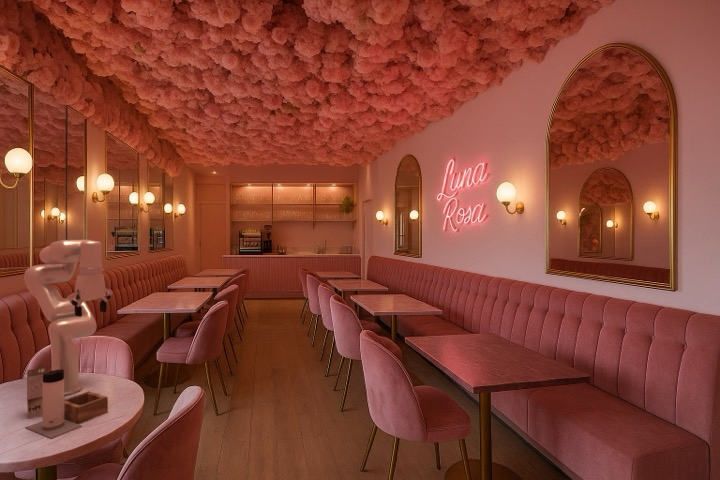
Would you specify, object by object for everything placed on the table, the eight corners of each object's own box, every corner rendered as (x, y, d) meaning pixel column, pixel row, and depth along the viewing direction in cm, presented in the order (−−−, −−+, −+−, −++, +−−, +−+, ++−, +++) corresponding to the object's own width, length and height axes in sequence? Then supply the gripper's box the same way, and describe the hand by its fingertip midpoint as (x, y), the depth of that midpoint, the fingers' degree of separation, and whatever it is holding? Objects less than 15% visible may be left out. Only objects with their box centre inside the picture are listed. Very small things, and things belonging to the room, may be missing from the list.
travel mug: (53, 431, 148) (53, 374, 148) (38, 428, 150) (37, 372, 149) (69, 423, 154) (69, 368, 154) (54, 421, 156) (54, 366, 155)
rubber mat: (25, 428, 151) (25, 427, 151) (56, 417, 160) (56, 416, 160) (51, 439, 144) (51, 437, 144) (81, 426, 153) (81, 425, 153)
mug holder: (59, 417, 160) (58, 401, 160) (88, 406, 170) (88, 391, 169) (78, 424, 154) (78, 407, 154) (107, 412, 164) (107, 397, 164)
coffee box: (48, 414, 162) (48, 373, 161) (27, 419, 158) (26, 376, 157) (48, 406, 169) (47, 366, 168) (27, 410, 165) (27, 369, 165)
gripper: (106, 269, 180) (106, 309, 181) (62, 273, 165) (62, 317, 165) (117, 270, 177) (117, 311, 177) (73, 274, 161) (74, 319, 162)
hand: (91, 314), depth 171 cm, fingers open, 9 cm apart
